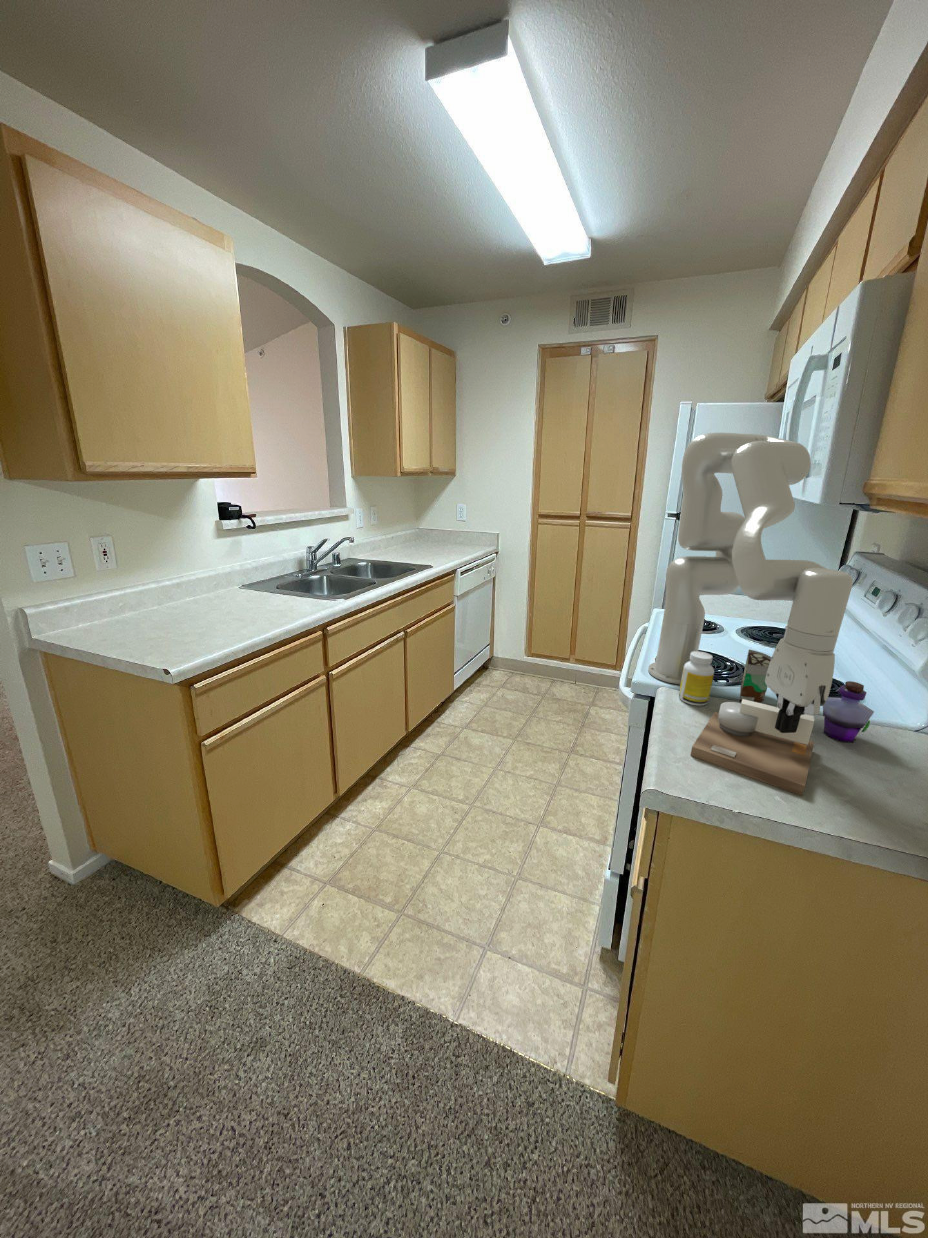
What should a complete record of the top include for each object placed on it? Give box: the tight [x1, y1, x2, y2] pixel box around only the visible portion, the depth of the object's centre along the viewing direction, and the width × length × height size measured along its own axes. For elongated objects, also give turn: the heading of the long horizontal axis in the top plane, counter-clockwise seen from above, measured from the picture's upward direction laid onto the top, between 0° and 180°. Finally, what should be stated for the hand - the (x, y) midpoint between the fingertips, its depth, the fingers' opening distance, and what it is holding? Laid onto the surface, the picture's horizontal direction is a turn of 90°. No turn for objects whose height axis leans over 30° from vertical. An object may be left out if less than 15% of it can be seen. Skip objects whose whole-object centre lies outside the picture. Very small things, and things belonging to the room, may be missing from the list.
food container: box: [738, 649, 772, 703], centre depth 116 cm, size 12×6×10 cm, turn 150°
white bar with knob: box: [718, 699, 815, 745], centre depth 96 cm, size 16×7×5 cm, turn 58°
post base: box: [690, 711, 815, 797], centre depth 94 cm, size 18×18×3 cm
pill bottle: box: [678, 650, 715, 707], centre depth 114 cm, size 6×6×12 cm
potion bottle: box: [822, 680, 875, 744], centre depth 100 cm, size 9×9×12 cm
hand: (785, 730), depth 92 cm, fingers closed
